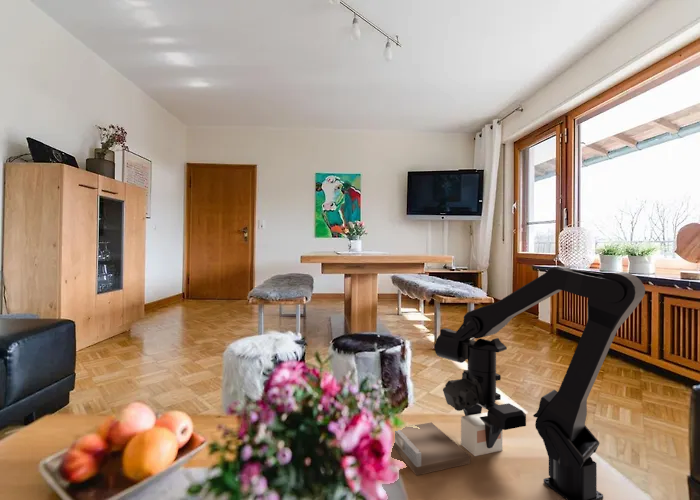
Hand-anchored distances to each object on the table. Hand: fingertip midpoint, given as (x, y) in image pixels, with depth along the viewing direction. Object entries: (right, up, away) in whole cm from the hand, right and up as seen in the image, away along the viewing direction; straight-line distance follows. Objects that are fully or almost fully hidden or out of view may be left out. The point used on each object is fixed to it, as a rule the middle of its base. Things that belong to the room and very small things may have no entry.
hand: (481, 441), depth 72 cm
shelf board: (-12, -1, -1) cm, 12 cm away
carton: (0, -1, 0) cm, 1 cm away
